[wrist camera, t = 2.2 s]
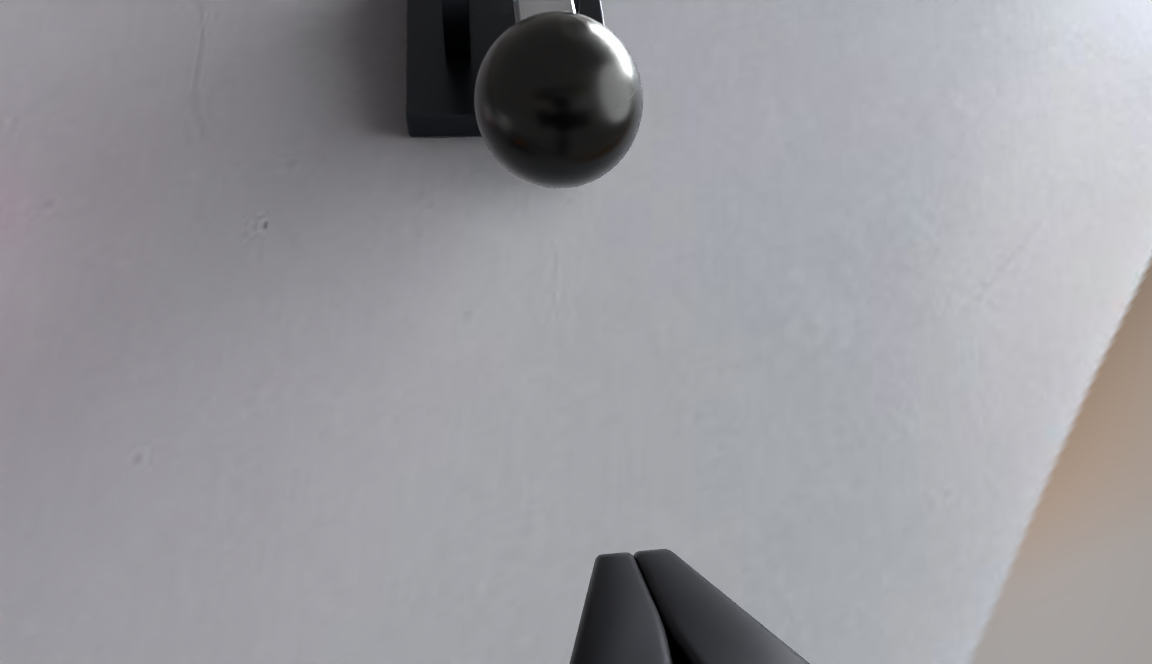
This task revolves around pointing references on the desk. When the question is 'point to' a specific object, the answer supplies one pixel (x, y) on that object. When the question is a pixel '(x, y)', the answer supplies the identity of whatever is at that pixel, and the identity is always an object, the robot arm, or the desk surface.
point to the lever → (557, 96)
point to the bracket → (454, 59)
